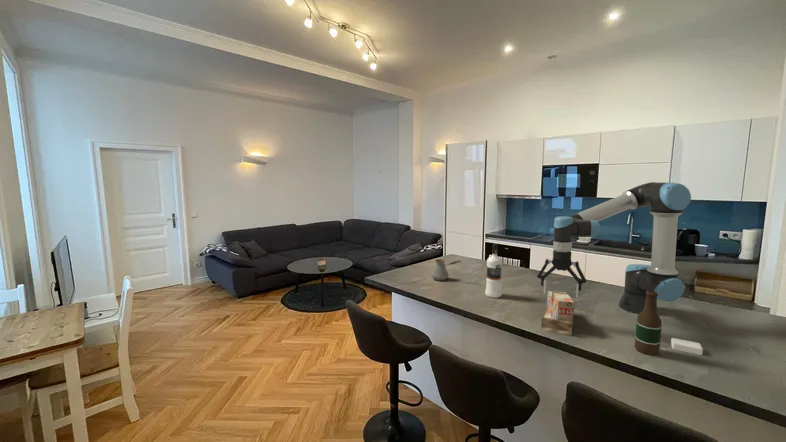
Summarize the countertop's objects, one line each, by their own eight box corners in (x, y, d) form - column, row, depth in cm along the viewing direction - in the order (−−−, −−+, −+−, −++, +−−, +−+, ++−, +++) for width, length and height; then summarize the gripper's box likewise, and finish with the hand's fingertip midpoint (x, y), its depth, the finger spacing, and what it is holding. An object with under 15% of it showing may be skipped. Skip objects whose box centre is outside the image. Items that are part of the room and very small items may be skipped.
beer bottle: (648, 345, 136) (653, 288, 133) (664, 355, 128) (670, 295, 125) (629, 346, 135) (634, 288, 132) (644, 356, 128) (650, 295, 125)
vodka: (497, 292, 199) (499, 242, 195) (504, 297, 190) (506, 245, 186) (482, 293, 198) (483, 243, 194) (489, 298, 189) (490, 246, 185)
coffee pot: (428, 279, 225) (428, 257, 223) (436, 275, 234) (436, 254, 232) (456, 285, 212) (457, 262, 210) (465, 281, 221) (465, 258, 219)
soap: (672, 349, 133) (672, 342, 133) (670, 343, 137) (671, 336, 137) (702, 356, 128) (703, 348, 128) (699, 350, 132) (700, 342, 132)
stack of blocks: (546, 308, 170) (547, 285, 168) (559, 309, 168) (561, 285, 167) (556, 327, 149) (558, 300, 148) (572, 328, 148) (574, 301, 146)
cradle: (573, 314, 167) (574, 303, 166) (571, 335, 145) (572, 323, 144) (546, 309, 173) (547, 299, 172) (541, 329, 150) (541, 318, 150)
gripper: (531, 249, 157) (530, 293, 160) (594, 254, 145) (591, 301, 148) (534, 246, 164) (532, 288, 166) (593, 250, 151) (591, 296, 154)
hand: (560, 294), depth 157 cm, fingers open, 13 cm apart
